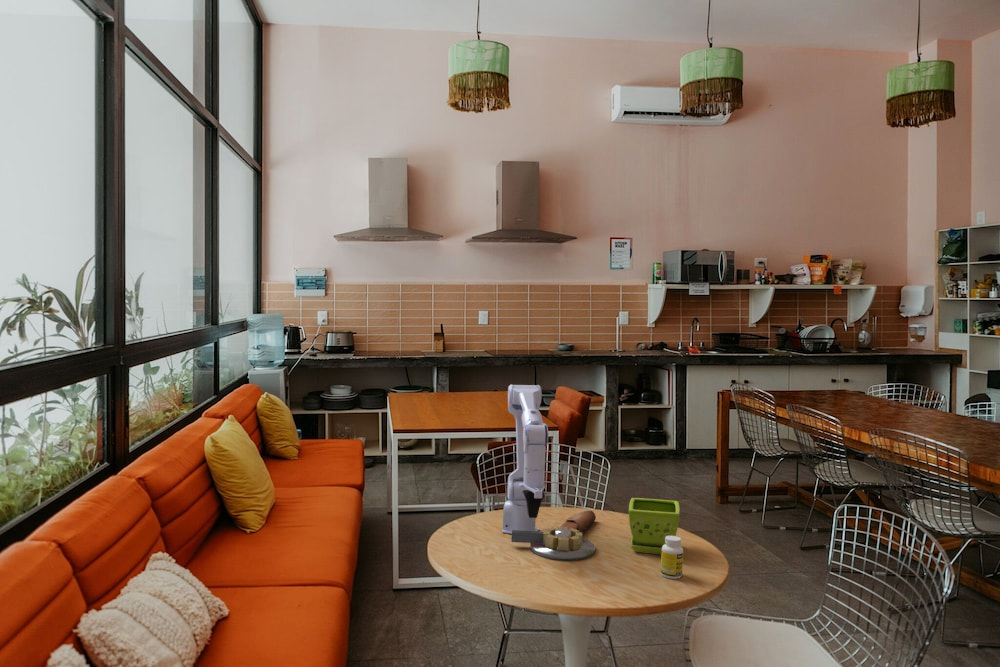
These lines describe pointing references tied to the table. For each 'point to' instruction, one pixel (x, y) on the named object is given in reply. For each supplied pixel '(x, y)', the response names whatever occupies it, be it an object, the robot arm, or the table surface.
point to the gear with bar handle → (549, 538)
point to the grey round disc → (570, 555)
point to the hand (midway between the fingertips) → (532, 517)
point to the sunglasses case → (580, 521)
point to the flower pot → (652, 523)
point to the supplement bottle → (672, 558)
